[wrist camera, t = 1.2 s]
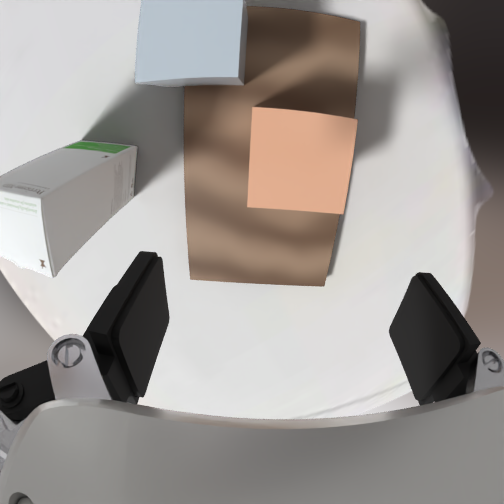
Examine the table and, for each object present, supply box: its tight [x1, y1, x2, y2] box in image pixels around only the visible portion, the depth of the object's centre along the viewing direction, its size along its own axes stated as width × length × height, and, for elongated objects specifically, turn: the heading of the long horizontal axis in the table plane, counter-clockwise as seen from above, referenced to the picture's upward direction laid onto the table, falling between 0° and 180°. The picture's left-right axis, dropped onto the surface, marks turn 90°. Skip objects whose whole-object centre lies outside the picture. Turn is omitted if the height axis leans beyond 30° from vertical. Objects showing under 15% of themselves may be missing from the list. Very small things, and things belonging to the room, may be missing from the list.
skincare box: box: [0, 140, 137, 278], centre depth 21 cm, size 8×7×16 cm
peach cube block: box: [247, 106, 358, 214], centre depth 21 cm, size 7×7×8 cm
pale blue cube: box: [135, 0, 248, 87], centre depth 17 cm, size 7×7×8 cm
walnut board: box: [184, 6, 360, 286], centre depth 26 cm, size 30×16×2 cm, turn 177°
